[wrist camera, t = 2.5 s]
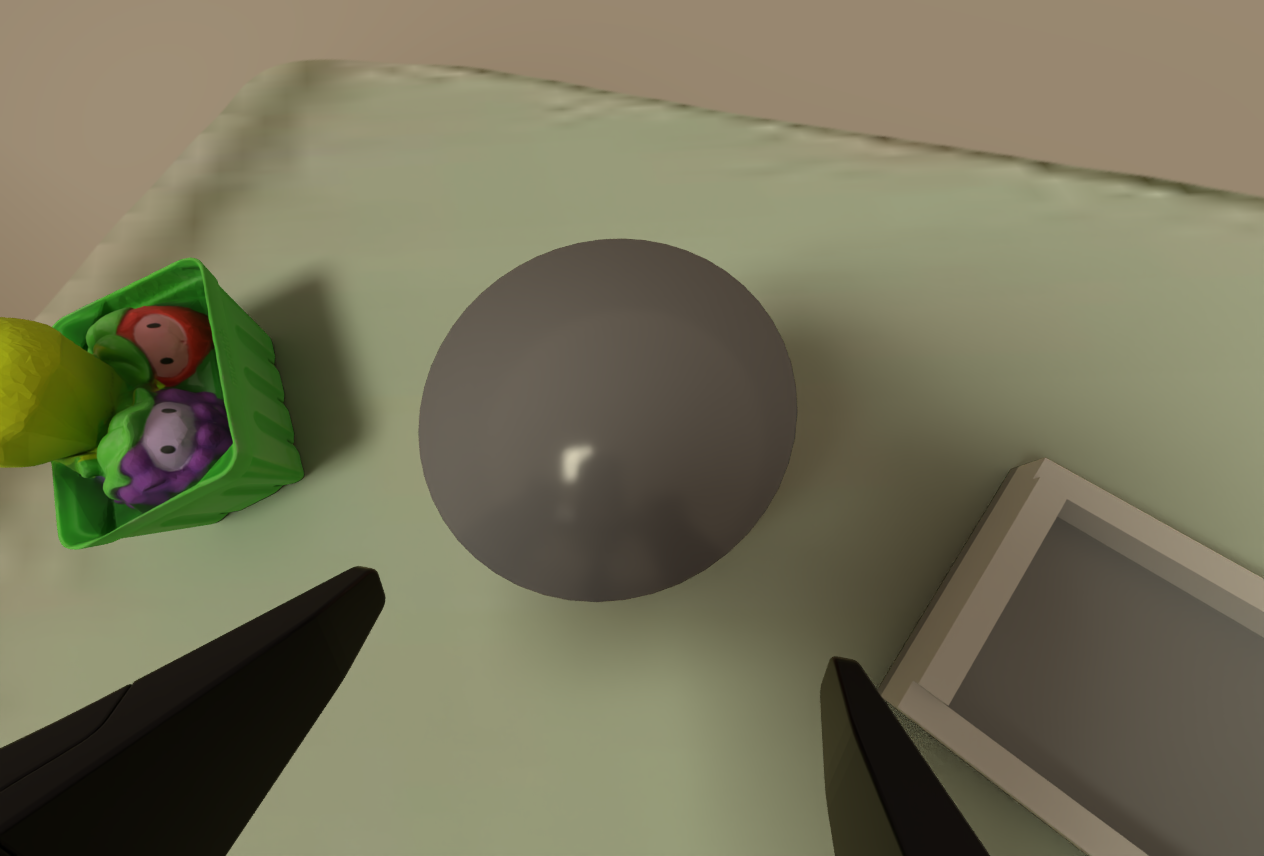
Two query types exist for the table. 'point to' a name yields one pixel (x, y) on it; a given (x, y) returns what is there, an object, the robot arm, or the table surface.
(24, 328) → the fruit basket
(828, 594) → the table surface
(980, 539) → the lane
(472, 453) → the jar
